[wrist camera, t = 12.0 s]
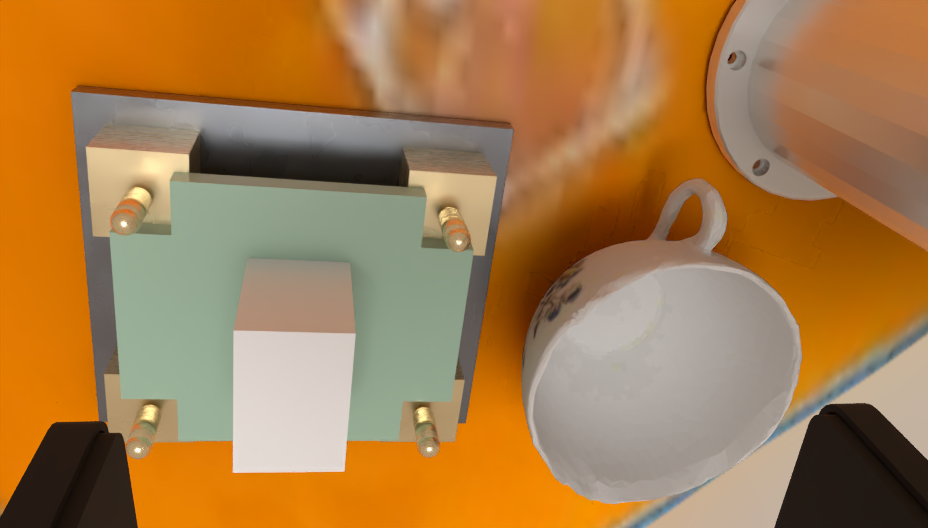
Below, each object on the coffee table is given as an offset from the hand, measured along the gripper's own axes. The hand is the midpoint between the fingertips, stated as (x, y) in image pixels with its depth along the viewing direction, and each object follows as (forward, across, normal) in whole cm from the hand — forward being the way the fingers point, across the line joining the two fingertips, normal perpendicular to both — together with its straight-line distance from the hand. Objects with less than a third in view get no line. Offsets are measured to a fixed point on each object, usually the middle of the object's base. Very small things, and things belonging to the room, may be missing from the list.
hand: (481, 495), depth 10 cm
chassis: (+25, +4, +9) cm, 27 cm away
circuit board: (+21, +4, +9) cm, 23 cm away
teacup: (+26, -12, +10) cm, 30 cm away
